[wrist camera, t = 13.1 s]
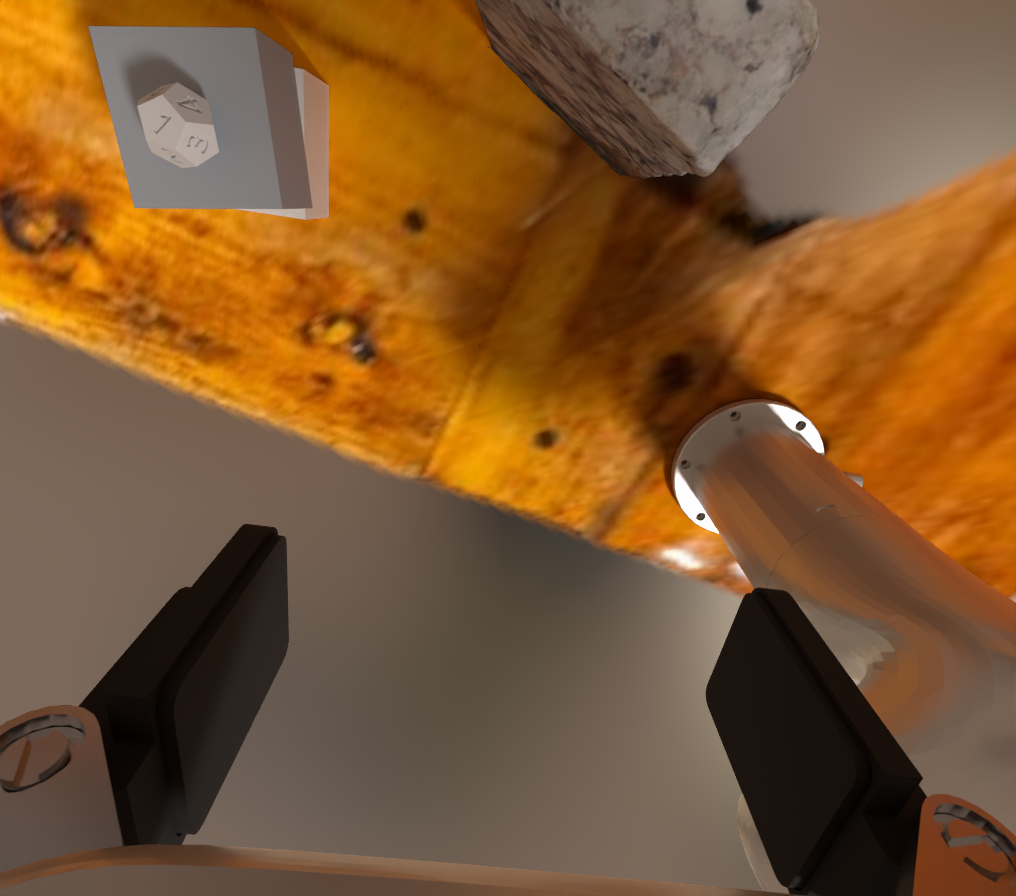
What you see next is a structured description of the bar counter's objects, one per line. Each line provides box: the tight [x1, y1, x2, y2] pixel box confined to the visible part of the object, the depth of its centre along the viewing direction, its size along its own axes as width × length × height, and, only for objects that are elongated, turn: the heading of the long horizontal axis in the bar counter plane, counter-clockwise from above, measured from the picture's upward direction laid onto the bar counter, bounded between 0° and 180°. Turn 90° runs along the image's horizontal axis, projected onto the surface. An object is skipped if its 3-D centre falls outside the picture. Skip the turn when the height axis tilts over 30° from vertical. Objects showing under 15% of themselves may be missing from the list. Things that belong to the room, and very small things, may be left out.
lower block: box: [239, 68, 329, 220], centre depth 35 cm, size 8×8×5 cm
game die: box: [137, 82, 219, 168], centre depth 26 cm, size 4×4×3 cm
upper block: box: [88, 26, 313, 209], centre depth 30 cm, size 8×8×5 cm
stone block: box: [476, 0, 819, 179], centre depth 26 cm, size 13×7×20 cm, turn 55°
